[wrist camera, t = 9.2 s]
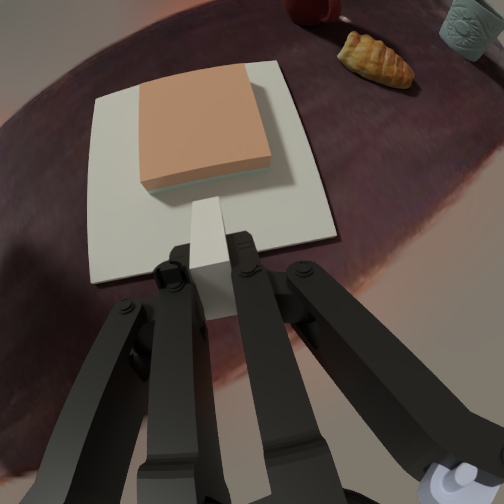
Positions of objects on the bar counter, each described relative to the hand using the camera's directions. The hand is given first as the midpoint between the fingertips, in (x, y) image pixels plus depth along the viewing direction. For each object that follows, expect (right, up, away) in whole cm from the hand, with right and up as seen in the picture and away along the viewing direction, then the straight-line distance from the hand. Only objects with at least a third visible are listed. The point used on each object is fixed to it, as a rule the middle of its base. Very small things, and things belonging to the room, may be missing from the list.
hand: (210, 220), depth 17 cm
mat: (-3, +7, +8) cm, 11 cm away
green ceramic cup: (+39, +35, +15) cm, 55 cm away
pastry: (+17, +21, +11) cm, 29 cm away
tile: (-1, +4, +5) cm, 7 cm away
